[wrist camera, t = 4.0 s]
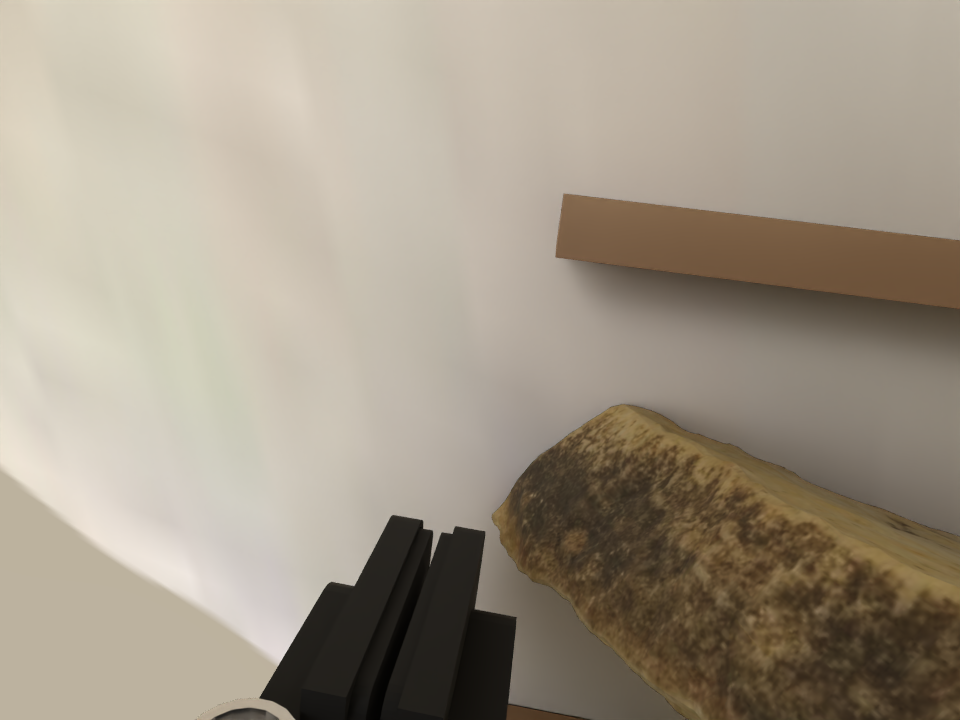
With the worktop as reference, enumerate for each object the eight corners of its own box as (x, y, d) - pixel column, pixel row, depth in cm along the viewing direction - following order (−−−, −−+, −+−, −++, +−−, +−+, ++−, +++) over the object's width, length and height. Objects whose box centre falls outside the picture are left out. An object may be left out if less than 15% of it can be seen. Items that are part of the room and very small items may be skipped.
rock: (1313, 582, 11) (1011, 159, 8) (1637, 1419, 6) (1108, 940, 3) (756, 594, 19) (530, 386, 17) (688, 932, 14) (355, 703, 12)
